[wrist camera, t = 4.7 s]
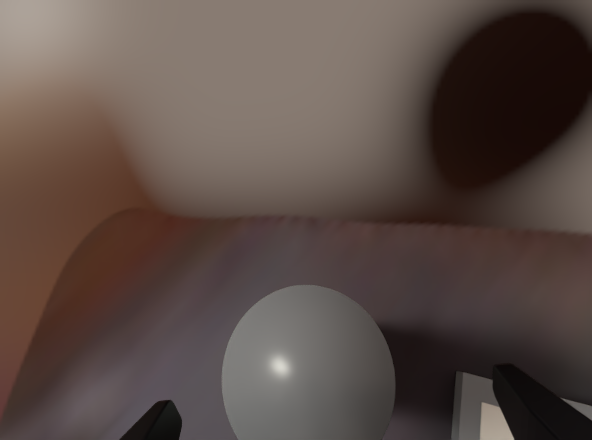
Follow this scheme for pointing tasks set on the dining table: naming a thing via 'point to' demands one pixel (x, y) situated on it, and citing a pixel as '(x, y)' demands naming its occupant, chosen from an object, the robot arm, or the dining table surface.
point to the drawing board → (484, 410)
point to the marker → (308, 369)
